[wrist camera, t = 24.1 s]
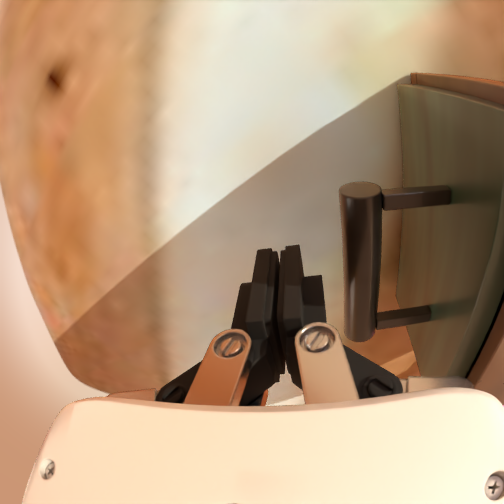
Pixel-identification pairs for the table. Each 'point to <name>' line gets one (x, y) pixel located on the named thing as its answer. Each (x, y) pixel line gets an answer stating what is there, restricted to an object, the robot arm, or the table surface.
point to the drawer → (433, 232)
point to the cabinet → (500, 339)
